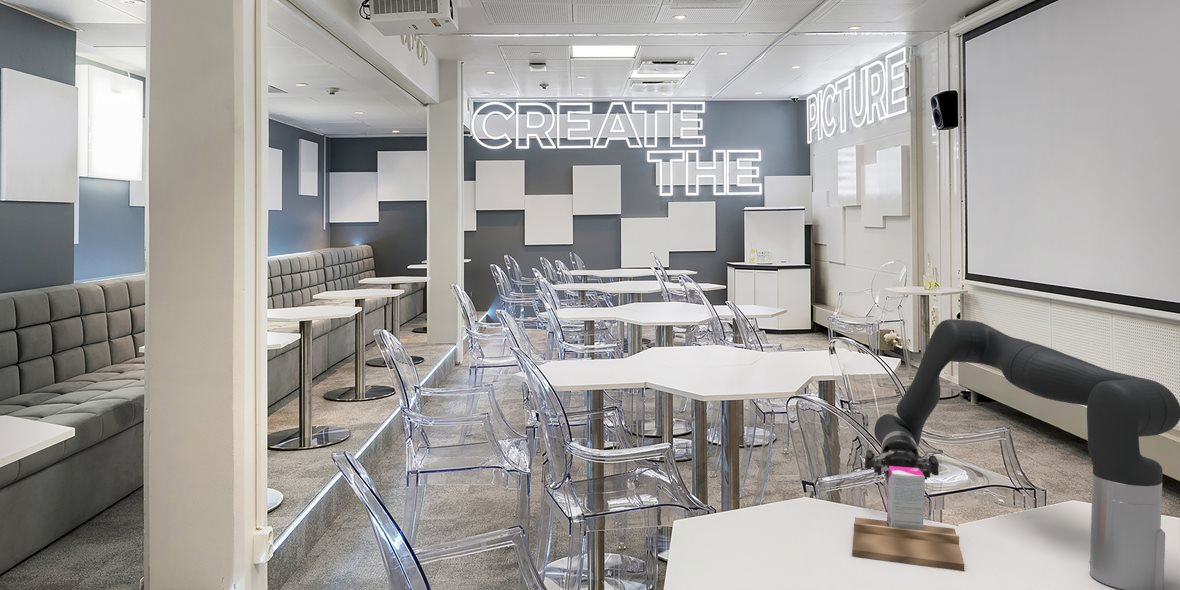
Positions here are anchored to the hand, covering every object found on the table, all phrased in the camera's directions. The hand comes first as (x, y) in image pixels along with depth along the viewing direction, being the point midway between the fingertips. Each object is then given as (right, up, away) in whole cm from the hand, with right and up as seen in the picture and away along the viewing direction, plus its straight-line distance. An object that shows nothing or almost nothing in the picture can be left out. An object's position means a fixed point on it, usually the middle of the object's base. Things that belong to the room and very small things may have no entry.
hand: (902, 472), depth 150 cm
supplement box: (-3, -9, -8) cm, 13 cm away
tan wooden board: (-5, -10, -13) cm, 17 cm away
